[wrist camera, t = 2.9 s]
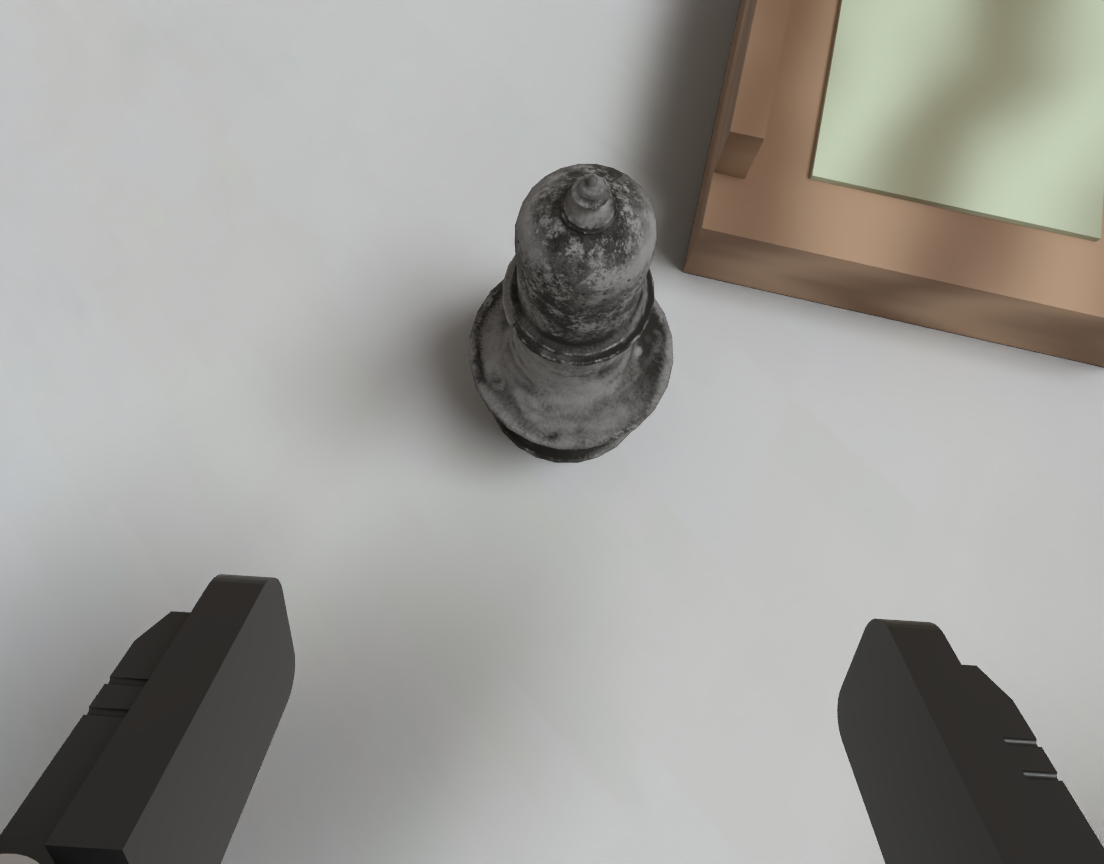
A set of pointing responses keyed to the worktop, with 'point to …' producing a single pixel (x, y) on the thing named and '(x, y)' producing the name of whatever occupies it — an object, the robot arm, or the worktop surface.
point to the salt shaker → (575, 319)
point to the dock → (916, 165)
